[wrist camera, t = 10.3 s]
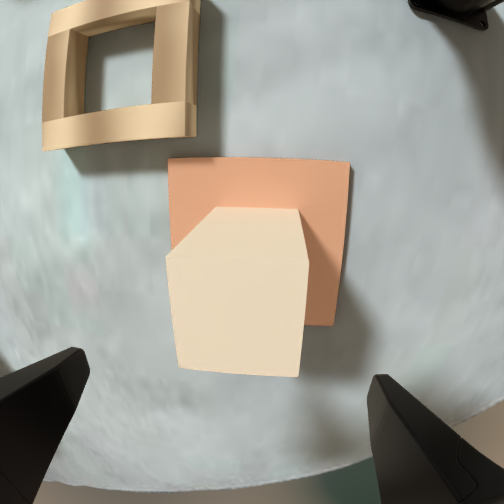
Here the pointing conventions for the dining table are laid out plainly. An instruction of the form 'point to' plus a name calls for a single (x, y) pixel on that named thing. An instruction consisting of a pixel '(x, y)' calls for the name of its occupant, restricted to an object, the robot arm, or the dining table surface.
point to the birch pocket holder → (163, 74)
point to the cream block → (240, 292)
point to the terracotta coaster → (272, 196)
